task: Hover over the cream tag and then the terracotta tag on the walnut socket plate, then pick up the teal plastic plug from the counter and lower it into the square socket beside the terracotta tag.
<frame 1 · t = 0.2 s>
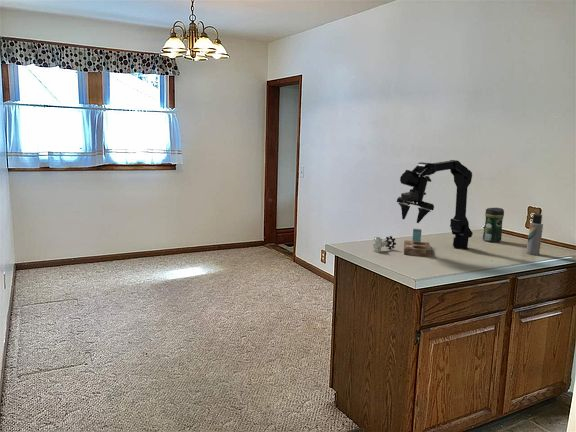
hand: (410, 221, 225), 15 cm above the countertop, tool pointing down, fingers open, 9 cm apart
lotion bottle: (532, 254, 237), on the countertop
valve: (382, 251, 230), on the countertop
coffee jar: (491, 241, 264), on the countertop
socket plate: (416, 251, 231), on the countertop
plug: (415, 244, 245), on the countertop
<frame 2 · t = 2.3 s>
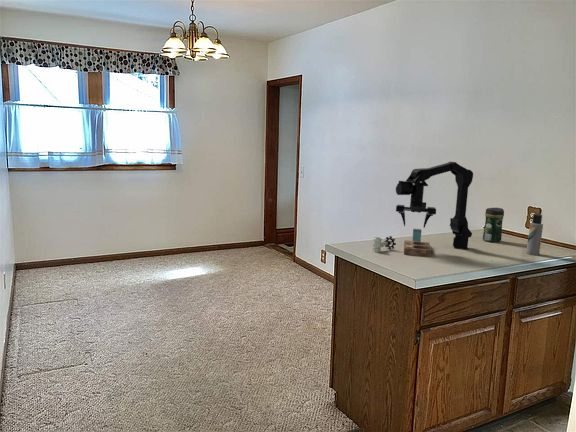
hand: (414, 226, 234), 11 cm above the countertop, tool pointing down, fingers open, 9 cm apart
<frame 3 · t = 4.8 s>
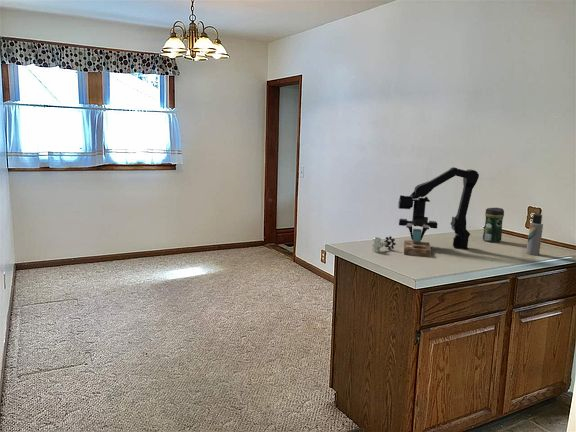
hand: (416, 240, 245), 3 cm above the countertop, tool pointing down, fingers closed on plug, 4 cm apart
plug: (415, 244, 245), on the countertop, touching gripper
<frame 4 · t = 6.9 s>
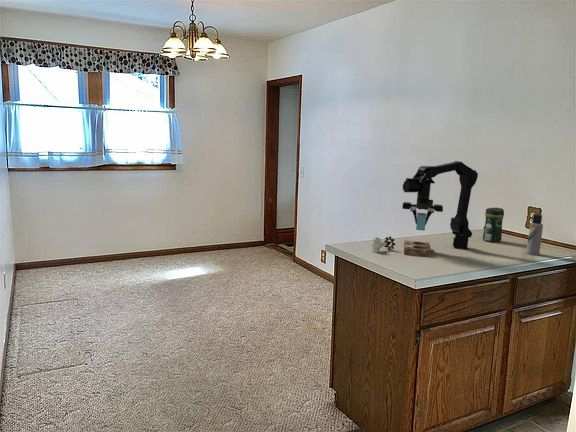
hand: (420, 224, 233), 12 cm above the countertop, tool pointing down, fingers closed on plug, 4 cm apart
plug: (420, 229, 233), point 10 cm above the countertop, touching gripper
everything else where it was.
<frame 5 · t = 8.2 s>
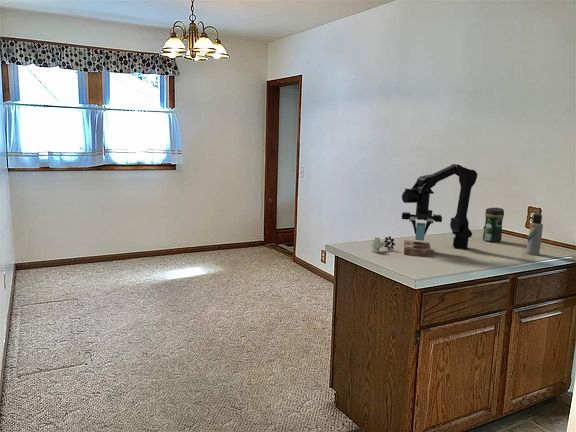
hand: (420, 234, 234), 8 cm above the countertop, tool pointing down, fingers closed on plug, 4 cm apart
plug: (419, 239, 234), point 5 cm above the countertop, touching gripper
when the fingers open (4 cm above the countertop, at t = 9.3 s): plug drops 1 cm, resting in socket plate.
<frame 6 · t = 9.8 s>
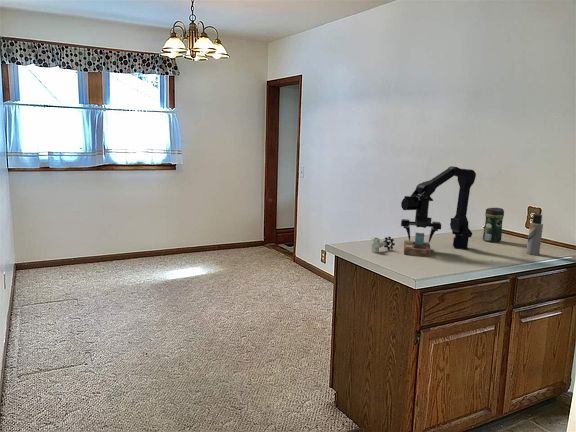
hand: (419, 241, 234), 4 cm above the countertop, tool pointing down, fingers open, 9 cm apart
plug: (418, 249, 235), resting in socket plate
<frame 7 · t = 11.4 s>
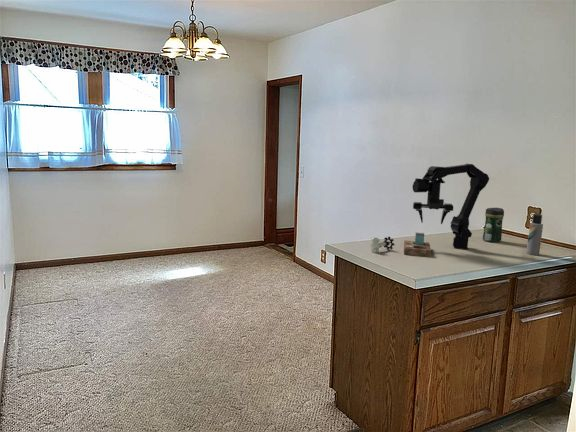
hand: (431, 223, 237), 12 cm above the countertop, tool pointing down, fingers open, 9 cm apart
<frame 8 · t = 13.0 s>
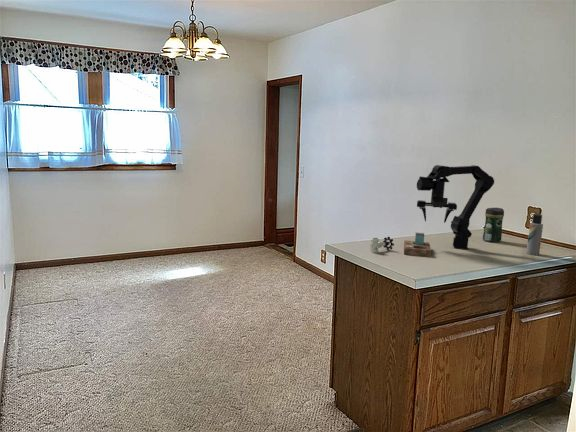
hand: (434, 222, 238), 13 cm above the countertop, tool pointing down, fingers open, 9 cm apart
at the end: plug 0.0 cm from the target spot on the socket plate, point 0.0 cm above the socket plate's base; plug tilted 0°; the gripper is holding nothing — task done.
